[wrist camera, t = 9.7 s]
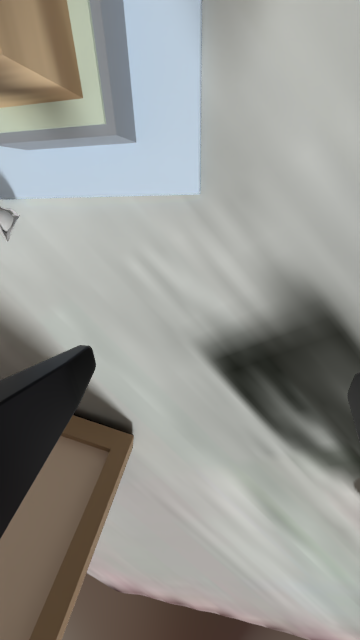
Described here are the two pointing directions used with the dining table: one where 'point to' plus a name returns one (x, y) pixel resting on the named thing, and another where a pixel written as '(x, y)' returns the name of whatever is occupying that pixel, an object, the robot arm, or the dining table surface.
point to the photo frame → (59, 530)
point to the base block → (83, 89)
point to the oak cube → (37, 53)
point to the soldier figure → (7, 222)
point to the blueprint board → (149, 115)
